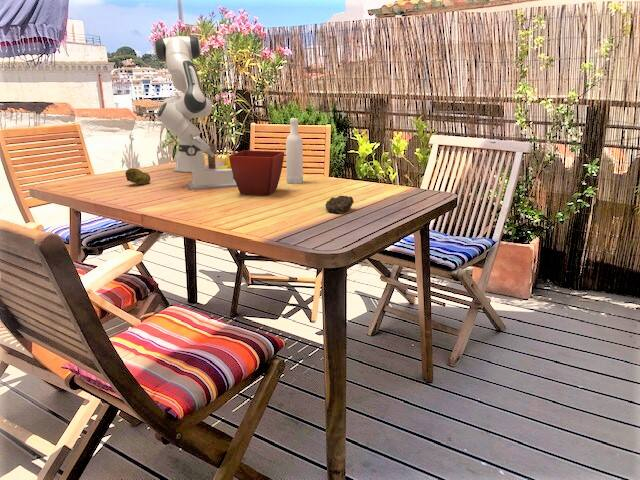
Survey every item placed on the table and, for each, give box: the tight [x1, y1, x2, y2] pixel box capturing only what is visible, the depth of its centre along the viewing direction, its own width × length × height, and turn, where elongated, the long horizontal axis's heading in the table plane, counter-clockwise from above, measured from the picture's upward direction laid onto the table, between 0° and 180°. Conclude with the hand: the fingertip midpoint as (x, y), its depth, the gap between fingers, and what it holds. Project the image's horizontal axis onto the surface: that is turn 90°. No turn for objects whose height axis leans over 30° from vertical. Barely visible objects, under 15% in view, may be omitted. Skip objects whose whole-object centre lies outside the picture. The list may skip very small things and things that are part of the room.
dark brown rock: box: [324, 195, 355, 214], centre depth 195 cm, size 12×10×5 cm
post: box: [207, 143, 216, 170], centre depth 240 cm, size 3×3×11 cm
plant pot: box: [228, 149, 285, 196], centre depth 226 cm, size 19×19×17 cm
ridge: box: [186, 169, 238, 191], centre depth 243 cm, size 14×22×7 cm, turn 110°
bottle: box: [285, 117, 304, 185], centre depth 248 cm, size 8×8×30 cm
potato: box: [125, 167, 151, 186], centre depth 245 cm, size 8×13×8 cm, turn 136°
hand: (212, 155), depth 240 cm, fingers closed on post, 3 cm apart
